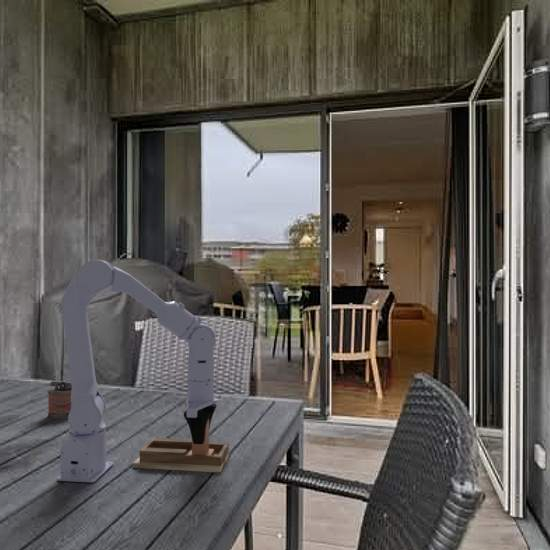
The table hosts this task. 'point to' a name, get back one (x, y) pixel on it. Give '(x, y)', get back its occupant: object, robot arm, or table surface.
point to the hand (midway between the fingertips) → (200, 440)
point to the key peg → (202, 445)
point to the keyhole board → (180, 456)
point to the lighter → (59, 399)
